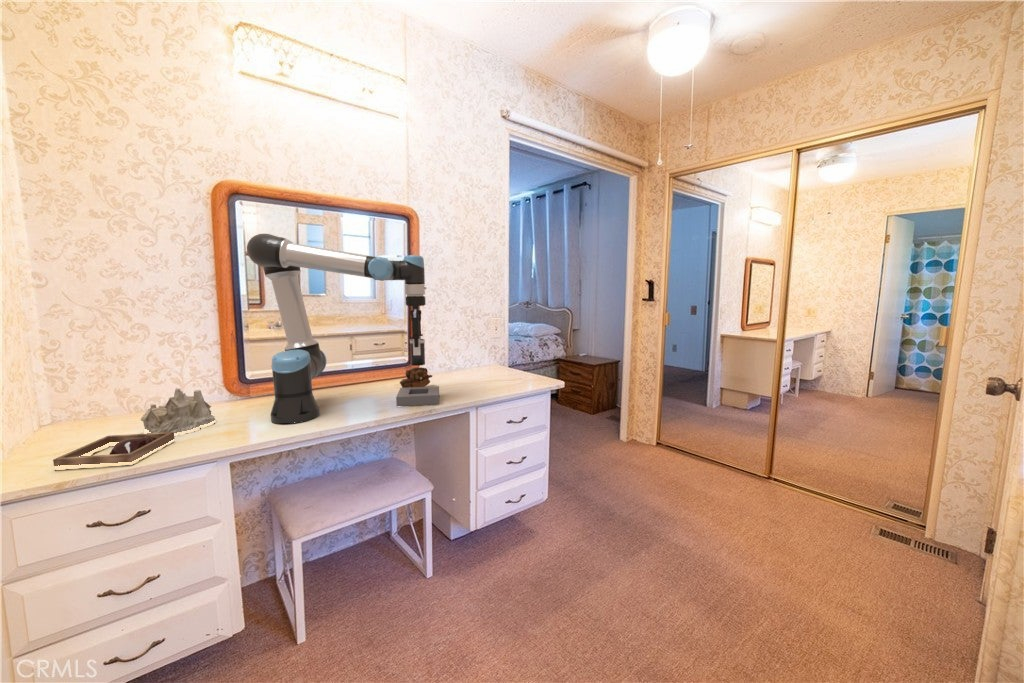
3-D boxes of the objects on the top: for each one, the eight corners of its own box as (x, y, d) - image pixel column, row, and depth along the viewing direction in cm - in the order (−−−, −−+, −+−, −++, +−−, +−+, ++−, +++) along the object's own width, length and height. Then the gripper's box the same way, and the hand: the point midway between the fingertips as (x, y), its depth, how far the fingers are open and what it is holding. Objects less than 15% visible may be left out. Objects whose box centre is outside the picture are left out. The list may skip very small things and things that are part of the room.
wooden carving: (405, 394, 167) (404, 371, 166) (399, 392, 170) (398, 370, 168) (434, 386, 180) (434, 365, 179) (428, 384, 183) (427, 364, 181)
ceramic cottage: (224, 421, 132) (215, 379, 130) (171, 441, 117) (160, 394, 114) (191, 420, 136) (182, 379, 134) (136, 439, 121) (124, 393, 119)
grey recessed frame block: (396, 407, 148) (396, 397, 148) (400, 397, 162) (400, 387, 162) (438, 404, 151) (438, 395, 150) (439, 395, 165) (439, 386, 164)
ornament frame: (54, 470, 97) (52, 459, 96) (109, 445, 112) (107, 435, 112) (132, 465, 100) (130, 454, 99) (174, 441, 115) (173, 432, 115)
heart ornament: (118, 475, 100) (96, 449, 102) (169, 462, 112) (147, 439, 114) (130, 456, 100) (107, 430, 102) (179, 445, 111) (158, 422, 113)
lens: (410, 365, 151) (409, 340, 150) (411, 363, 157) (410, 338, 155) (425, 365, 152) (424, 340, 151) (425, 362, 158) (425, 338, 156)
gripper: (423, 296, 142) (425, 357, 145) (426, 295, 160) (428, 349, 164) (402, 296, 141) (405, 358, 144) (407, 295, 159) (410, 350, 162)
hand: (417, 353), depth 154 cm, fingers closed on lens, 6 cm apart
